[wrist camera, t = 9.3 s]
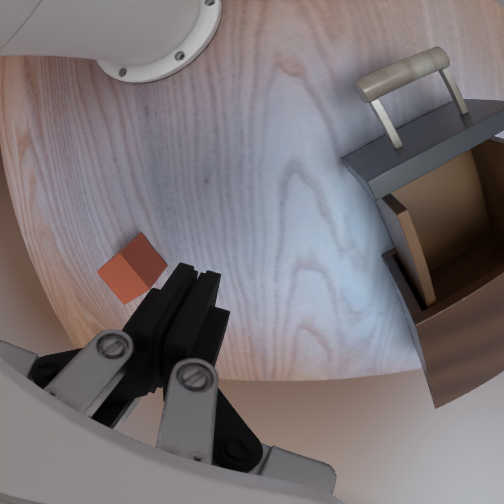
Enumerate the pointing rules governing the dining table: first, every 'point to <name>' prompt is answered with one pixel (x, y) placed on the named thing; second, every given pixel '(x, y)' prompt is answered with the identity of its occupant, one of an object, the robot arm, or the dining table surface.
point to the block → (133, 269)
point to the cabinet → (455, 332)
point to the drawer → (436, 181)
